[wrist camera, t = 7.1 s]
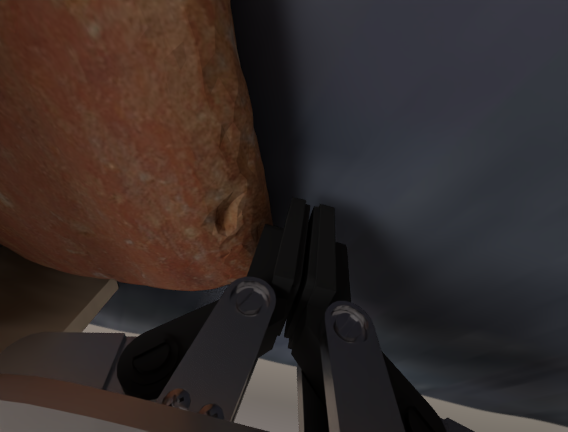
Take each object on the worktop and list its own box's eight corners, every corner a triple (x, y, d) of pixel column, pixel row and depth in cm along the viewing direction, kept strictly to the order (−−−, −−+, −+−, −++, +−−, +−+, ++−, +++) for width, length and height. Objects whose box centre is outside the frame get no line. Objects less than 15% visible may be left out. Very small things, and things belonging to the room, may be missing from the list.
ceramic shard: (-901, -319, 4) (108, -643, 3) (-169, -70, 9) (232, -143, 8) (-94, 352, 10) (277, 330, 9) (44, 256, 16) (281, 237, 15)
